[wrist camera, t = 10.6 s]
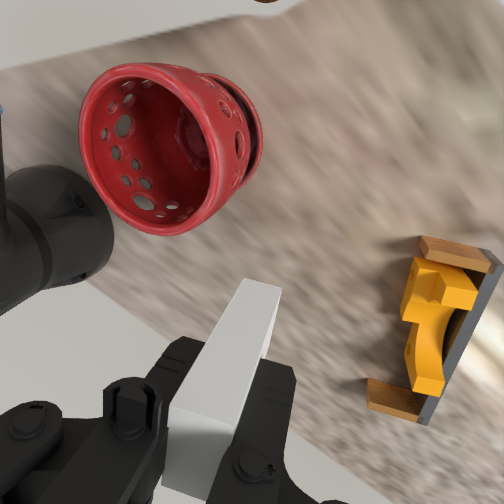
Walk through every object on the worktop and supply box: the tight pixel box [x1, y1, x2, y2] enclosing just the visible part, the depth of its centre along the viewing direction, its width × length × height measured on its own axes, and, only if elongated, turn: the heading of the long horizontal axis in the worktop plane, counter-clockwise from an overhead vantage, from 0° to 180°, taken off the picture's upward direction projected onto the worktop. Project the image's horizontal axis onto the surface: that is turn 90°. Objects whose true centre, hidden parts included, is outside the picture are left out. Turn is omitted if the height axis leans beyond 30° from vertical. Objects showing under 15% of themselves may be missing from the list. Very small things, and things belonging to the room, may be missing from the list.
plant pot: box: [78, 63, 263, 236], centre depth 33 cm, size 13×13×12 cm
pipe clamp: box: [399, 257, 478, 397], centre depth 38 cm, size 12×4×6 cm, turn 175°
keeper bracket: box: [365, 235, 504, 426], centre depth 39 cm, size 7×20×4 cm, turn 170°
